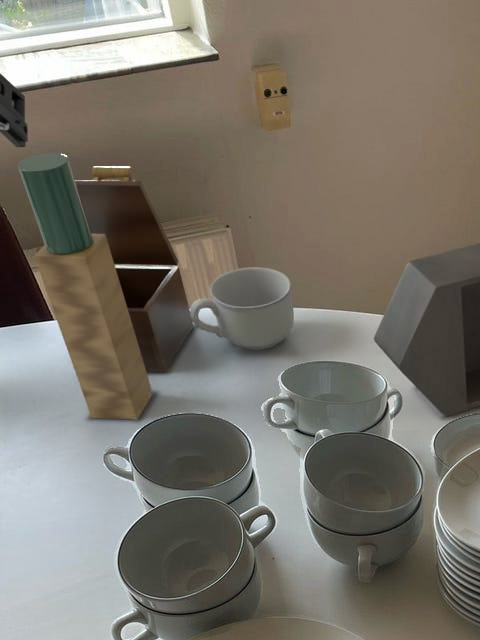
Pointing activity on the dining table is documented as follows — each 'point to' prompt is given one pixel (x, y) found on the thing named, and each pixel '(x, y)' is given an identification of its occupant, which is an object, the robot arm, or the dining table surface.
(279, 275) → the teacup
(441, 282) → the planter
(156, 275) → the chest
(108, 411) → the stand
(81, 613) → the dining table surface
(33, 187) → the green cylinder
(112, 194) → the lid
